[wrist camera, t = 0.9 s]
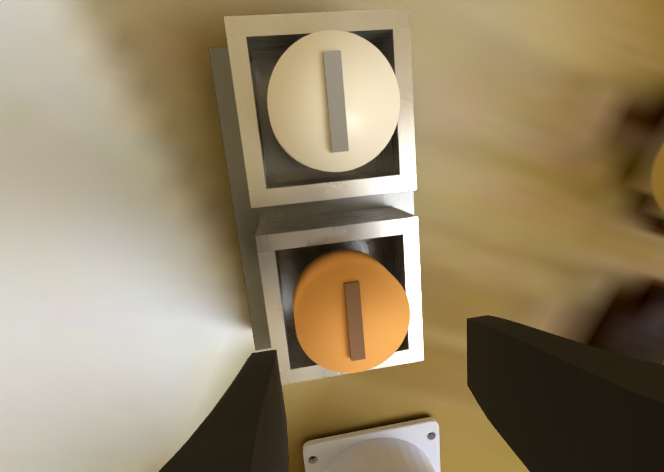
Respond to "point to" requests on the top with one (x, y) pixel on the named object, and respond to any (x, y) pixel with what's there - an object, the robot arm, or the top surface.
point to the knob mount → (313, 182)
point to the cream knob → (333, 101)
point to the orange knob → (349, 311)
